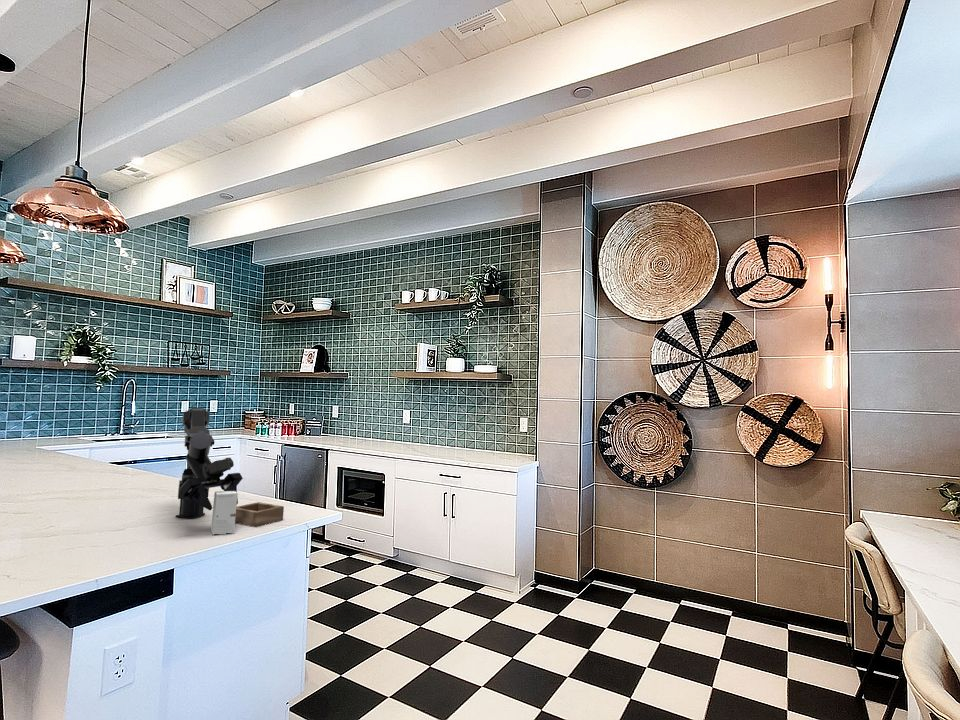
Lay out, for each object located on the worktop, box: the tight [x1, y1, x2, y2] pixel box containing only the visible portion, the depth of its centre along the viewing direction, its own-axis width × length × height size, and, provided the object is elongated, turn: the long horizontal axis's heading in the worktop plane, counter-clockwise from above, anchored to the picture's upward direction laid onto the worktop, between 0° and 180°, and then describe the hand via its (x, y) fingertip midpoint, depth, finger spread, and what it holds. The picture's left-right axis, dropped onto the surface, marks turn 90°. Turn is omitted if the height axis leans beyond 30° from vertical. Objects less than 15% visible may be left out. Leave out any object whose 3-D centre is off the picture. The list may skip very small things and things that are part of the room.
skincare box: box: [210, 490, 238, 536], centre depth 163 cm, size 6×4×12 cm
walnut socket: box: [235, 501, 285, 528], centre depth 179 cm, size 12×12×4 cm
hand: (224, 506), depth 163 cm, fingers open, 9 cm apart
